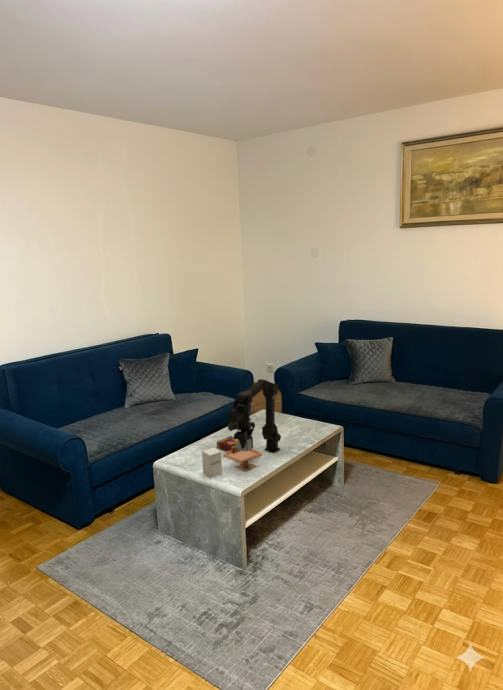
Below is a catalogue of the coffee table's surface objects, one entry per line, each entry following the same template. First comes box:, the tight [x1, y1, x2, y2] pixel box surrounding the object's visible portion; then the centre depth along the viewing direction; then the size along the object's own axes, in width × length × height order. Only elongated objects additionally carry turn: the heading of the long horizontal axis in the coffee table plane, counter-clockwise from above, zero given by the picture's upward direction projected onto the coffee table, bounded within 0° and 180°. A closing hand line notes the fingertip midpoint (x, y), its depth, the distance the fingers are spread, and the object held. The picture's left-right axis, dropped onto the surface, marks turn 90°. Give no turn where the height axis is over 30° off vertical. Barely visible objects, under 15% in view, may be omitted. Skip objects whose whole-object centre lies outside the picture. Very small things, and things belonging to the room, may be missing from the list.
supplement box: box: [201, 447, 223, 479], centre depth 255 cm, size 7×7×13 cm
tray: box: [222, 448, 263, 464], centre depth 276 cm, size 15×15×2 cm
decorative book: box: [216, 435, 241, 454], centre depth 288 cm, size 11×16×5 cm
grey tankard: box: [236, 435, 254, 451], centre depth 261 cm, size 9×7×6 cm
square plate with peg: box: [234, 460, 258, 473], centre depth 262 cm, size 9×9×4 cm
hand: (245, 445), depth 261 cm, fingers closed on grey tankard, 7 cm apart
